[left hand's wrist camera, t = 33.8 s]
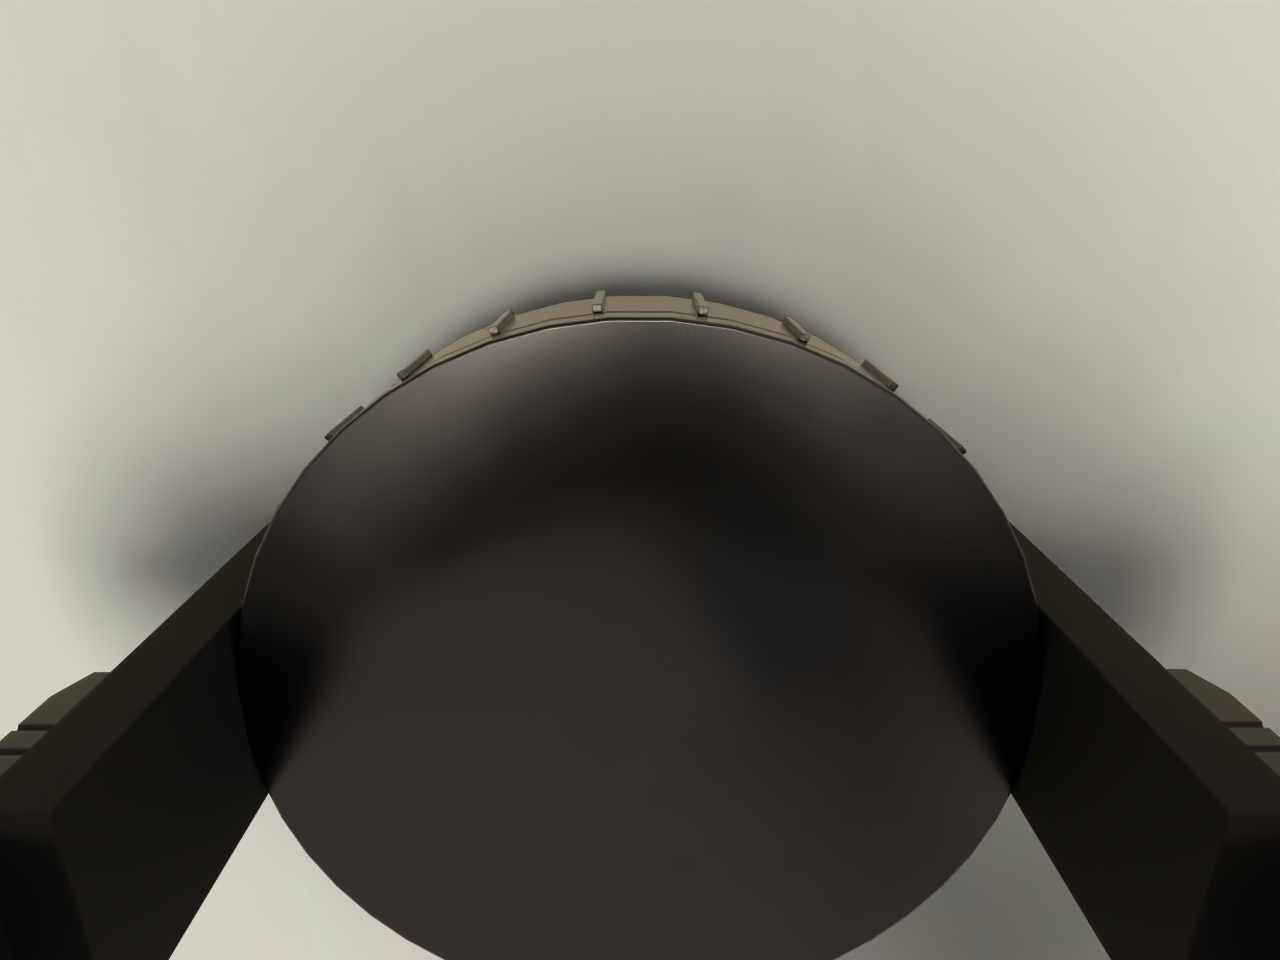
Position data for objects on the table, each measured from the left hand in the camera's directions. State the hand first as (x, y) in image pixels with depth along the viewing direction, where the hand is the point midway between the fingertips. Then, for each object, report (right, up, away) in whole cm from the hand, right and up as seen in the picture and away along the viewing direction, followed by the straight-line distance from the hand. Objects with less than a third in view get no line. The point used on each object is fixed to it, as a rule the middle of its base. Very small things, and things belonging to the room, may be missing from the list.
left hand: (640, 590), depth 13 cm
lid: (0, -1, -3) cm, 3 cm away
